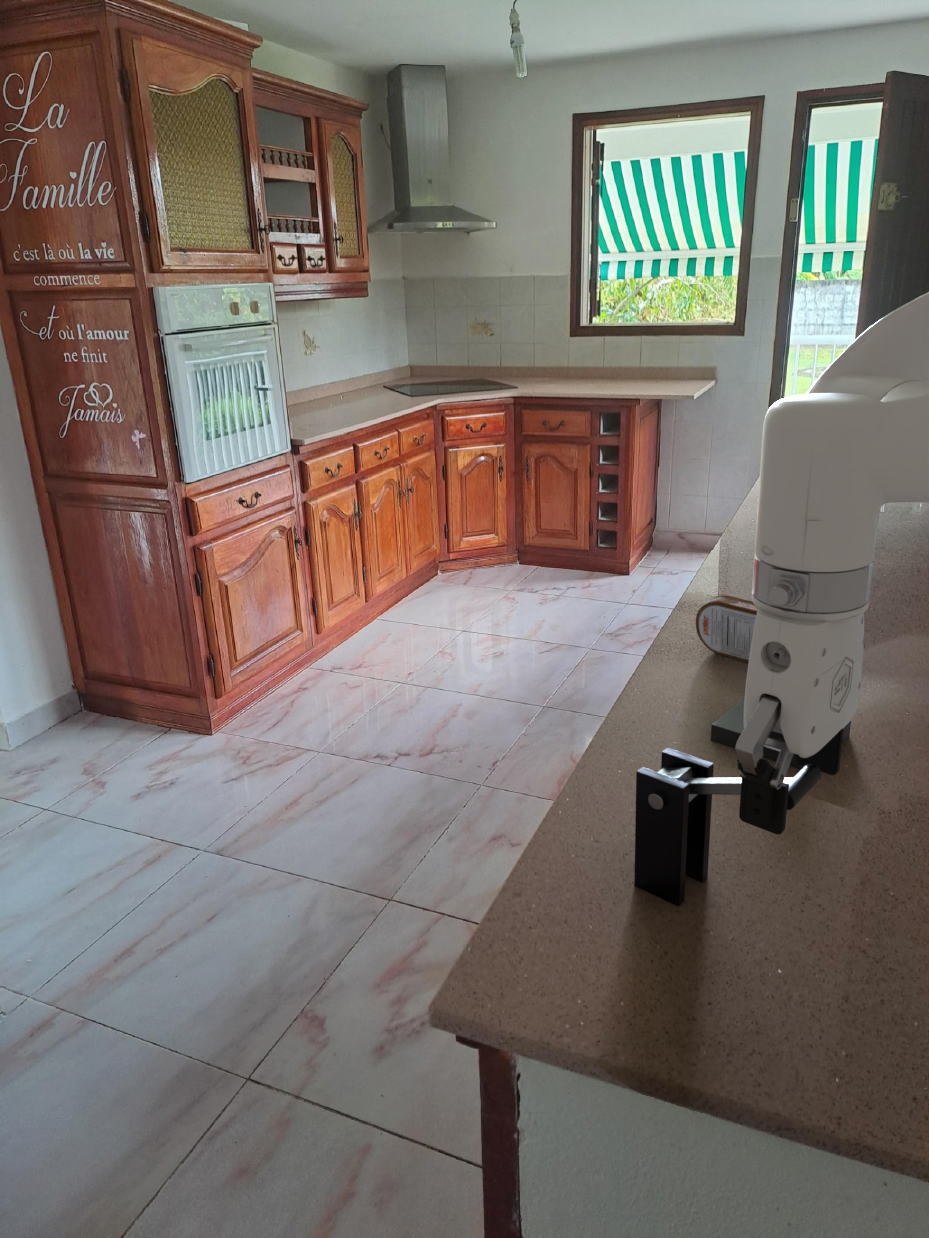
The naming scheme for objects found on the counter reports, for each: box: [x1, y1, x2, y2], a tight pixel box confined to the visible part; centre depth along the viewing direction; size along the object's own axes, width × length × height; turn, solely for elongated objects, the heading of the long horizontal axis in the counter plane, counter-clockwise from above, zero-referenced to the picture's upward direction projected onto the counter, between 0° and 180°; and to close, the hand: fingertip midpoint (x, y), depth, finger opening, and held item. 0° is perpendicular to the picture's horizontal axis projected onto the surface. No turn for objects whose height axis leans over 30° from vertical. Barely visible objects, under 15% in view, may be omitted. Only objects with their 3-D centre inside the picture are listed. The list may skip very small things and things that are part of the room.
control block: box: [710, 697, 852, 771], centre depth 100 cm, size 12×10×4 cm
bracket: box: [633, 747, 715, 907], centre depth 75 cm, size 11×9×13 cm
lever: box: [656, 764, 823, 811], centre depth 70 cm, size 13×5×2 cm, turn 47°
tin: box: [695, 594, 758, 664], centre depth 120 cm, size 15×3×8 cm, turn 45°
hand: (790, 795), depth 66 cm, fingers open, 9 cm apart
